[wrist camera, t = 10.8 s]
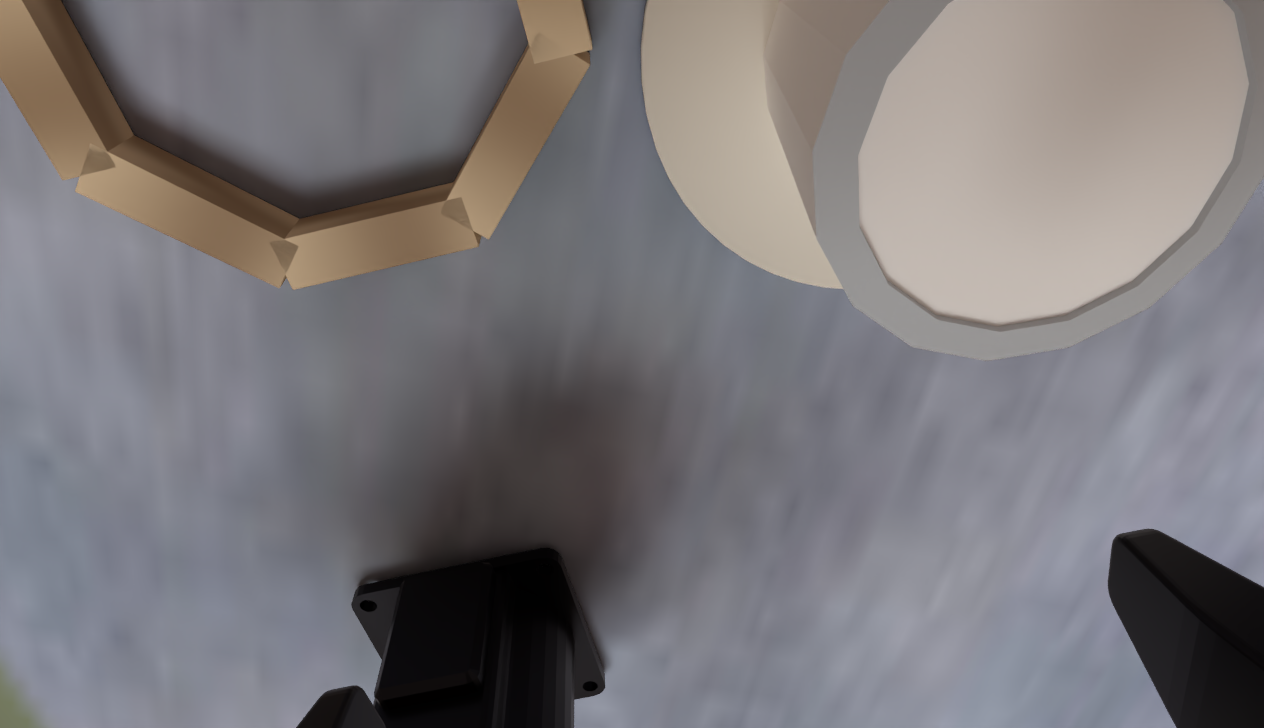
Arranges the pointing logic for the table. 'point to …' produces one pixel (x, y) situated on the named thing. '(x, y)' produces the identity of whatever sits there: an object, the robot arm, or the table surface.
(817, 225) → the shot glass
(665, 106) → the coaster mat
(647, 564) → the table surface
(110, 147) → the oak collar
